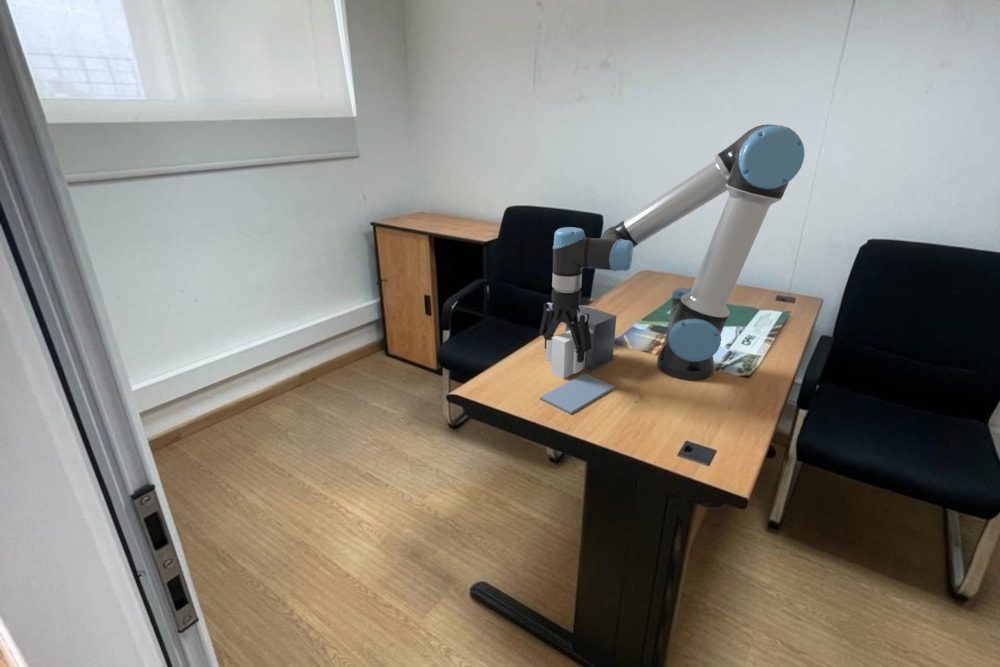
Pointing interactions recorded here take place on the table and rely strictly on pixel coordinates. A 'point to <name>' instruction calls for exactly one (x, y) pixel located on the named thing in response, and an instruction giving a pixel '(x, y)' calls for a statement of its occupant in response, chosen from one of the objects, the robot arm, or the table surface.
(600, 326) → the dispenser
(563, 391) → the mat
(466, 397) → the table surface
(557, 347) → the white block
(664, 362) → the robot arm
